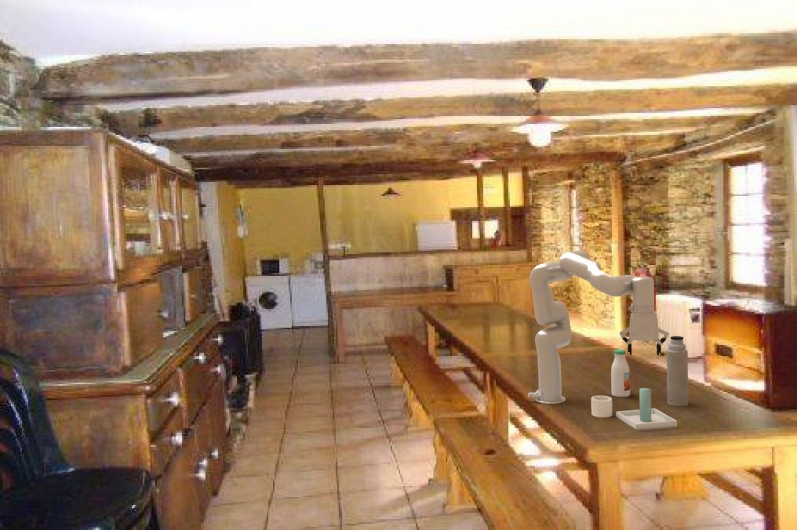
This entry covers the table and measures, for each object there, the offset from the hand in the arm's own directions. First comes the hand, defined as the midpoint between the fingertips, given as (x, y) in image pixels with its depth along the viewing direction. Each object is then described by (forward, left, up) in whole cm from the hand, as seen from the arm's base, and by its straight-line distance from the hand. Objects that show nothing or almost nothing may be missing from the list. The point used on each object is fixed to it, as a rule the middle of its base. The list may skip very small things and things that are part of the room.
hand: (644, 354), depth 242 cm
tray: (0, 0, -26) cm, 26 cm away
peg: (0, 0, -25) cm, 25 cm away
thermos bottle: (+24, +19, -26) cm, 40 cm away
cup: (-12, +12, -26) cm, 31 cm away
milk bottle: (+8, +37, -26) cm, 46 cm away
